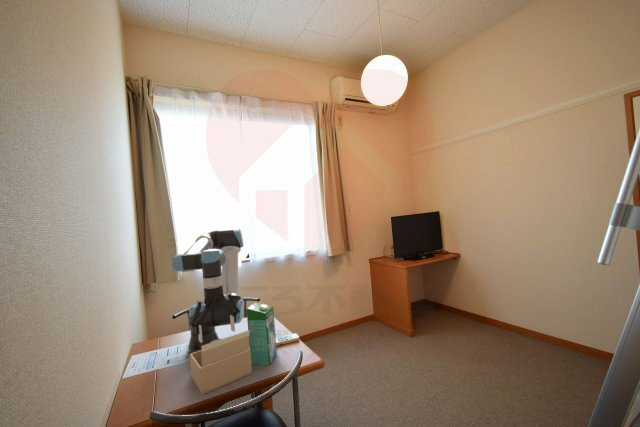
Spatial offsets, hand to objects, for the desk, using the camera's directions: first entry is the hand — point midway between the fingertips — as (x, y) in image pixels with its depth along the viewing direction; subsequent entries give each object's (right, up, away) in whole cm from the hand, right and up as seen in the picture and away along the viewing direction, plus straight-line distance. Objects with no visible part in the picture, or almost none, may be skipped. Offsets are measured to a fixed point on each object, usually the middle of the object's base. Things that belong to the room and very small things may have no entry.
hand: (217, 335), depth 120 cm
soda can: (+1, -15, -1) cm, 16 cm away
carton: (+3, -16, -2) cm, 16 cm away
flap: (+7, 0, -9) cm, 11 cm away
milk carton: (+18, -15, +9) cm, 25 cm away
